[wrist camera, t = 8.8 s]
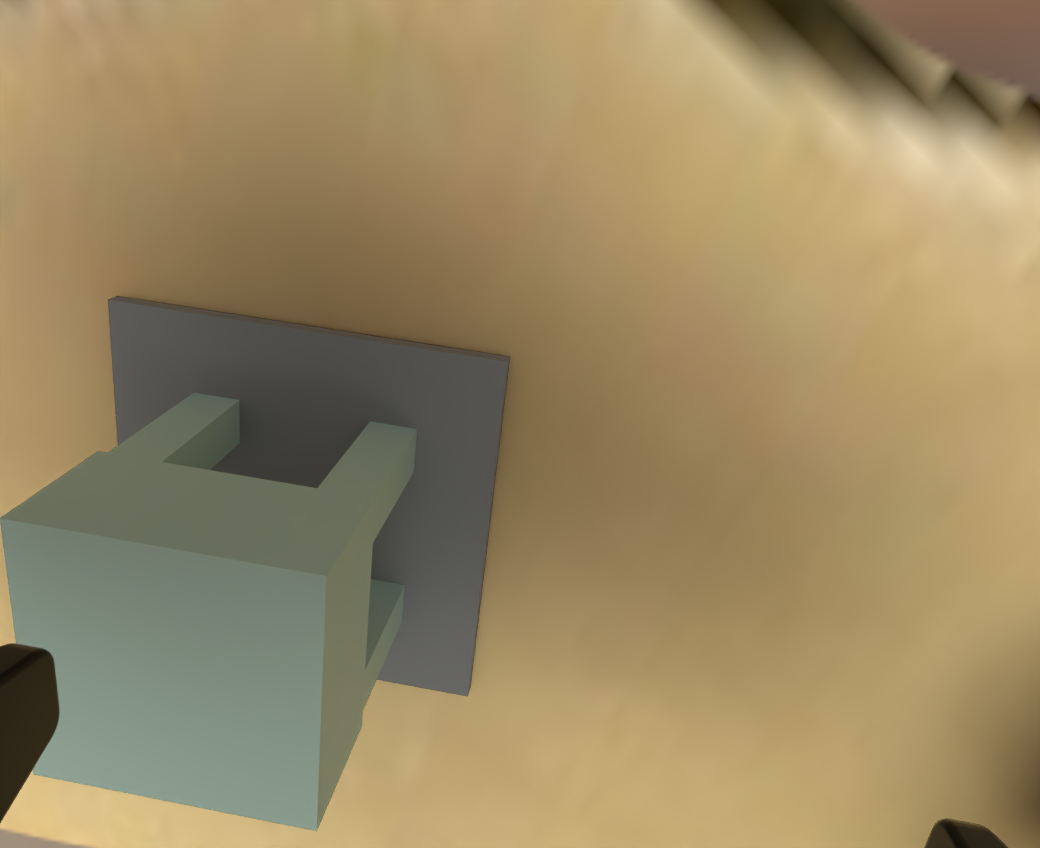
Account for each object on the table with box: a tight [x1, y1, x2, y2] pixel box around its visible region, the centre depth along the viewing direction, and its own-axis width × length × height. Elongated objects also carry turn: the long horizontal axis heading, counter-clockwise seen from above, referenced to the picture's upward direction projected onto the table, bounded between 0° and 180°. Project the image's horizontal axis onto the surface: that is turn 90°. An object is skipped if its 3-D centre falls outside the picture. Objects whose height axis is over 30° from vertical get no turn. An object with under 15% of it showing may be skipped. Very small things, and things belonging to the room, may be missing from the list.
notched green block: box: [0, 393, 417, 831], centre depth 19 cm, size 6×6×7 cm
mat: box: [108, 296, 510, 696], centre depth 23 cm, size 10×10×1 cm
